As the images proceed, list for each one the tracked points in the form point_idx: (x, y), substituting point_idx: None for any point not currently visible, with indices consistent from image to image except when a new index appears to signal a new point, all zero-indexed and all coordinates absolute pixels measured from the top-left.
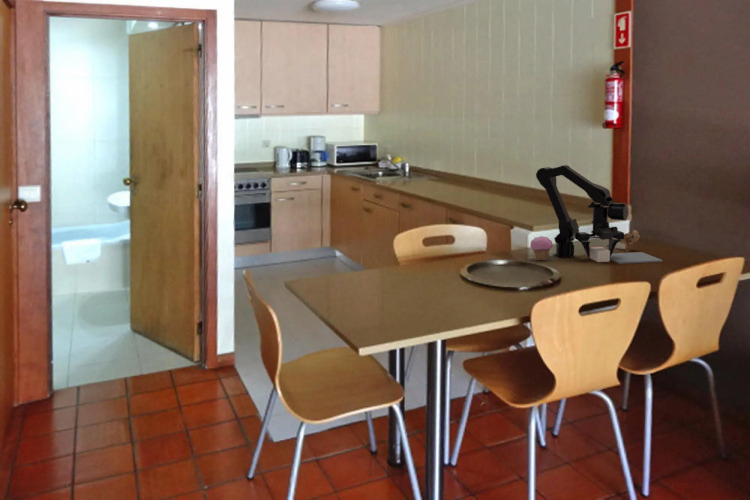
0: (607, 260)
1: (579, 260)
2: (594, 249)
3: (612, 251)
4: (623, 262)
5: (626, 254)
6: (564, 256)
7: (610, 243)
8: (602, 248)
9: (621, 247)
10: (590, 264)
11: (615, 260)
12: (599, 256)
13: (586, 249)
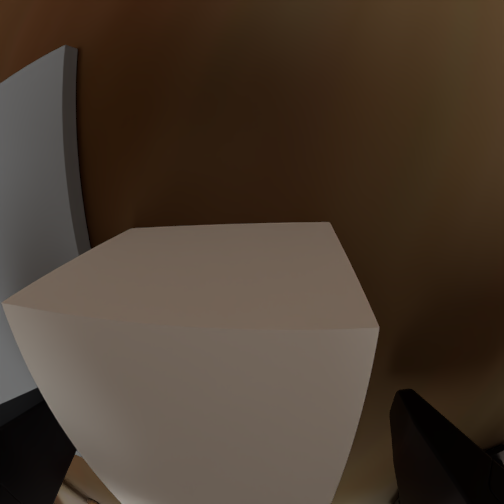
0: (152, 231)
1: (483, 356)
2: (327, 497)
3: (31, 392)
4: (28, 66)
5: (12, 398)
6: (491, 454)
7: (13, 499)
8: (141, 496)
9: (75, 500)
10: (483, 72)
11: (60, 174)
12: (296, 255)
13: (492, 467)
